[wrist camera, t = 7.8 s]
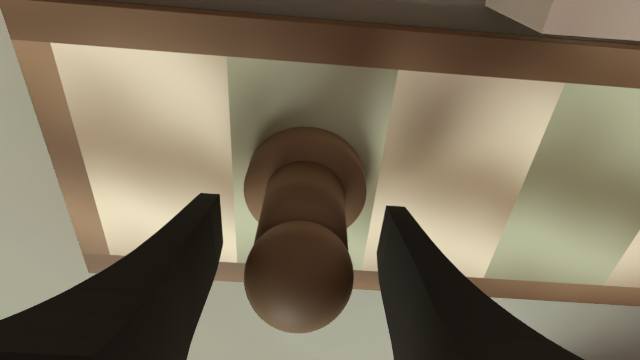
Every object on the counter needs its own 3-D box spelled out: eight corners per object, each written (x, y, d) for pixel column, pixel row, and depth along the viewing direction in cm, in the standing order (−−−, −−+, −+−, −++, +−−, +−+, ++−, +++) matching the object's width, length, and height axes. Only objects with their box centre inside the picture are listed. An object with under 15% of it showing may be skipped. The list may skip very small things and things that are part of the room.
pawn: (356, 228, 16) (371, 376, 11) (249, 221, 16) (211, 368, 11) (372, 131, 14) (402, 260, 9) (246, 121, 14) (197, 247, 8)
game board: (715, 298, 20) (729, 311, 19) (97, 260, 19) (88, 272, 18) (922, 68, 13) (953, 75, 13) (14, -6, 12) (-3, -3, 12)
